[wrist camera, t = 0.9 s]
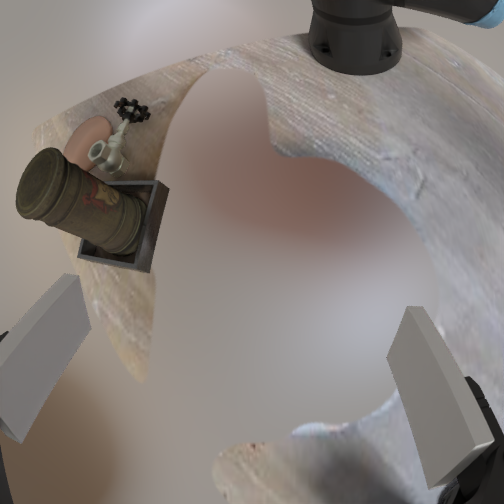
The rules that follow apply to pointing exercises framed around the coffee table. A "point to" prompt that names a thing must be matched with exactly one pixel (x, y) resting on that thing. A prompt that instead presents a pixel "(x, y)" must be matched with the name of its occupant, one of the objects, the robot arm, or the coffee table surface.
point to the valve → (117, 140)
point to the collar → (148, 229)
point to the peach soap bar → (87, 141)
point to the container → (79, 203)
